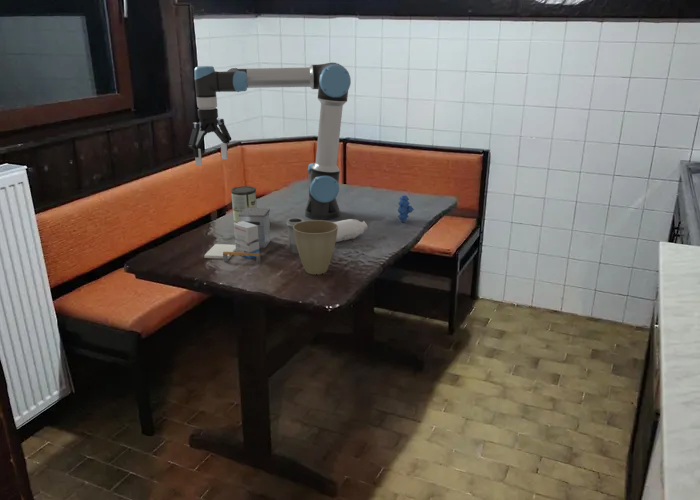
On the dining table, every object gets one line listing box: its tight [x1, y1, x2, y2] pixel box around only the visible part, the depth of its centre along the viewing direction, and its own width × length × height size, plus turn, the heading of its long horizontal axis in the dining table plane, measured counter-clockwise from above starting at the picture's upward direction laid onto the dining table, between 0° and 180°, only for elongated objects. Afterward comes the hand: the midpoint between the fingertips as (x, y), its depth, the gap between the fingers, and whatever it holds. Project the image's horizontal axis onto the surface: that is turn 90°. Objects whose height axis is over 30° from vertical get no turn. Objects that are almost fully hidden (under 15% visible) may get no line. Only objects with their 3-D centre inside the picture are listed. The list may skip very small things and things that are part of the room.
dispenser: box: [222, 208, 271, 264], centre depth 227 cm, size 13×24×13 cm, turn 173°
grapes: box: [397, 194, 415, 223], centre depth 259 cm, size 12×7×12 cm, turn 163°
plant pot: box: [293, 219, 338, 275], centre depth 208 cm, size 15×15×16 cm
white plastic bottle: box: [332, 218, 368, 243], centre depth 239 cm, size 8×19×8 cm, turn 123°
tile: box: [204, 243, 236, 260], centre depth 227 cm, size 9×12×1 cm
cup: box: [286, 217, 305, 254], centre depth 227 cm, size 7×7×12 cm
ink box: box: [233, 221, 261, 260], centre depth 223 cm, size 9×5×12 cm, turn 47°
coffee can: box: [230, 185, 258, 224], centre depth 260 cm, size 10×10×14 cm
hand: (212, 162), depth 245 cm, fingers open, 13 cm apart
